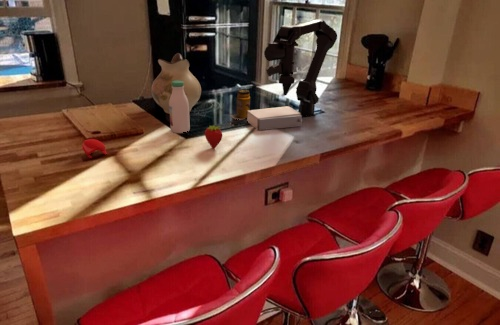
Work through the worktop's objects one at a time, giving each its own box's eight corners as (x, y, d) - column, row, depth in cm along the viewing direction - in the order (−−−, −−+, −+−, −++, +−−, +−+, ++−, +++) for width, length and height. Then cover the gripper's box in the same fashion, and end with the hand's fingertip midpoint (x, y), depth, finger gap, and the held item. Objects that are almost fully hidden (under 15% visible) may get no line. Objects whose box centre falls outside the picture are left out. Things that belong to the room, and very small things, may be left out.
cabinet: (287, 116, 172) (288, 106, 170) (299, 124, 163) (300, 113, 161) (247, 121, 165) (247, 110, 163) (257, 129, 156) (258, 118, 153)
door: (300, 125, 161) (300, 114, 159) (302, 126, 159) (303, 116, 157) (256, 129, 155) (257, 118, 153) (258, 131, 153) (258, 120, 151)
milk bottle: (193, 128, 155) (191, 80, 147) (184, 134, 148) (181, 84, 140) (176, 126, 157) (173, 78, 149) (167, 132, 151) (163, 82, 142)
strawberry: (215, 143, 142) (215, 117, 137) (226, 149, 136) (226, 123, 132) (201, 146, 138) (200, 120, 134) (212, 153, 133) (211, 126, 129)
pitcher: (168, 121, 162) (165, 62, 152) (143, 108, 178) (138, 54, 168) (211, 112, 176) (210, 57, 165) (183, 101, 192) (181, 50, 181)
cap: (79, 152, 123) (94, 142, 123) (78, 140, 127) (92, 131, 127) (96, 165, 129) (110, 155, 129) (94, 153, 133) (108, 144, 133)
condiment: (253, 117, 170) (254, 91, 165) (237, 120, 166) (237, 94, 160) (244, 113, 175) (245, 87, 170) (229, 116, 171) (229, 90, 166)
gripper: (267, 53, 163) (266, 88, 170) (267, 62, 147) (266, 101, 154) (293, 54, 163) (291, 89, 170) (295, 62, 146) (293, 101, 153)
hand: (285, 95), depth 162 cm, fingers closed
